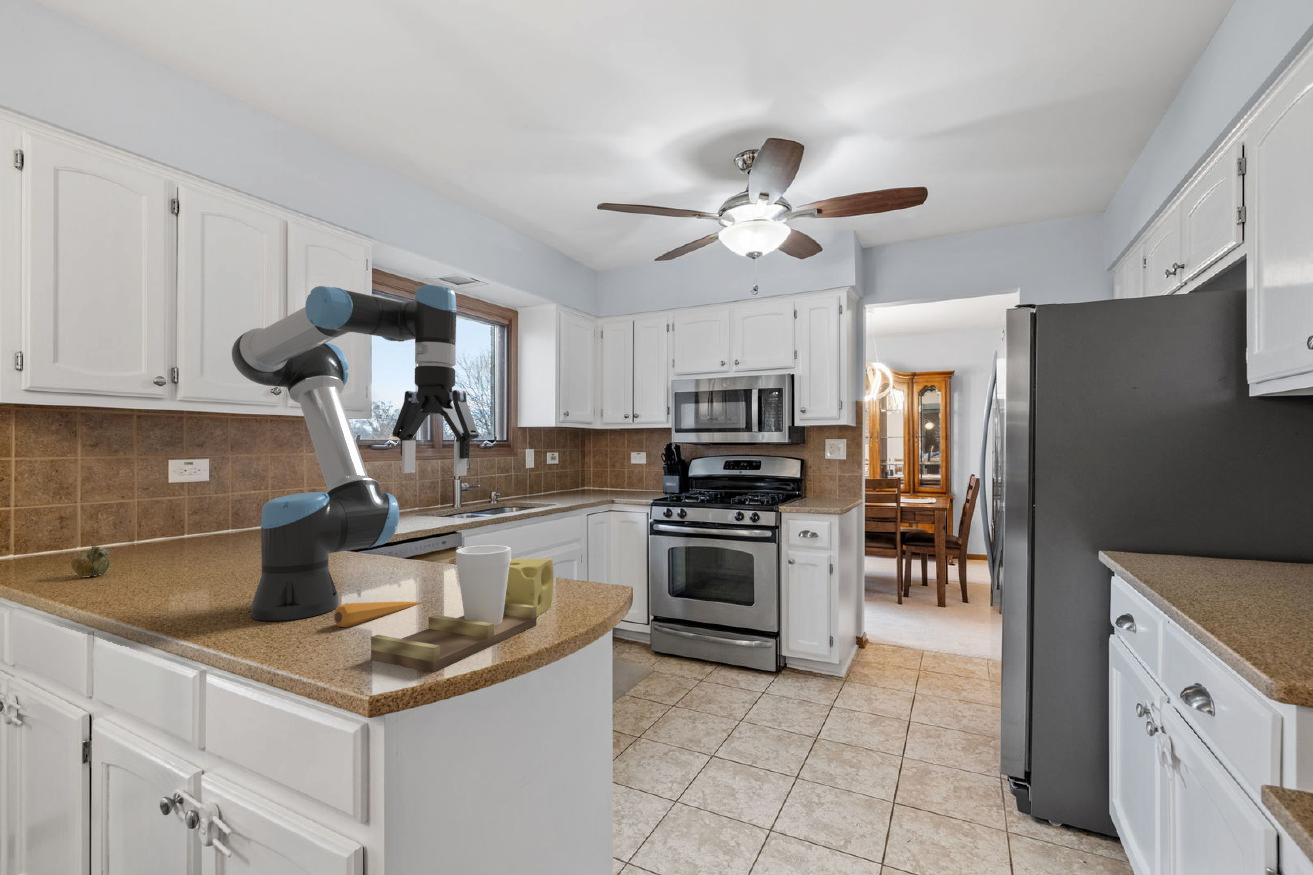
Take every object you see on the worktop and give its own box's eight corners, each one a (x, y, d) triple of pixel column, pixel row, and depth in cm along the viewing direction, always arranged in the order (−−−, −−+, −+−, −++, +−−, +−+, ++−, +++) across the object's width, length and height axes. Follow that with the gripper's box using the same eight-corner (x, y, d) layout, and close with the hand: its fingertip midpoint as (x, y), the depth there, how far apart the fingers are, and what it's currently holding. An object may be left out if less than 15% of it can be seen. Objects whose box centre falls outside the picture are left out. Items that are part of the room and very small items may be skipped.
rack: (370, 659, 94) (370, 636, 94) (480, 616, 117) (480, 598, 117) (433, 672, 89) (433, 648, 89) (536, 625, 112) (536, 606, 112)
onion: (112, 572, 162) (112, 542, 162) (110, 577, 155) (110, 545, 155) (73, 576, 157) (73, 545, 157) (68, 581, 151) (69, 549, 151)
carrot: (340, 634, 110) (349, 611, 109) (326, 622, 112) (334, 599, 111) (426, 616, 128) (434, 597, 127) (412, 606, 130) (420, 587, 129)
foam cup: (464, 615, 113) (464, 545, 113) (514, 614, 113) (514, 544, 114) (450, 631, 103) (450, 554, 104) (505, 629, 104) (505, 553, 104)
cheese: (534, 621, 114) (534, 568, 115) (481, 618, 117) (481, 566, 117) (554, 606, 125) (554, 557, 125) (505, 604, 127) (505, 556, 127)
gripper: (374, 366, 121) (373, 472, 122) (471, 362, 111) (469, 478, 111) (404, 370, 128) (403, 470, 128) (498, 366, 118) (496, 476, 118)
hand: (433, 474), depth 120 cm, fingers open, 13 cm apart
